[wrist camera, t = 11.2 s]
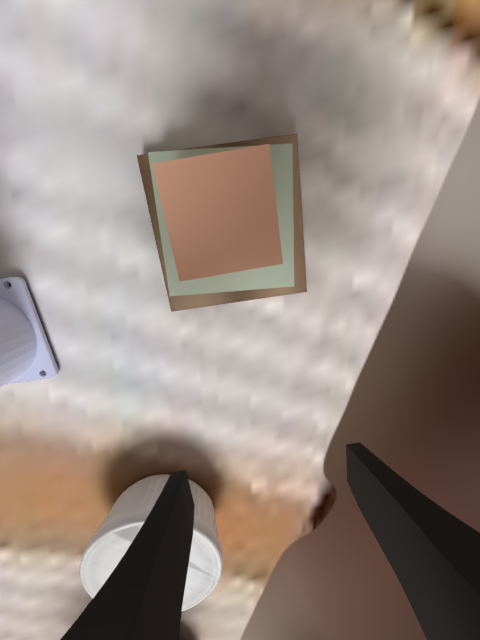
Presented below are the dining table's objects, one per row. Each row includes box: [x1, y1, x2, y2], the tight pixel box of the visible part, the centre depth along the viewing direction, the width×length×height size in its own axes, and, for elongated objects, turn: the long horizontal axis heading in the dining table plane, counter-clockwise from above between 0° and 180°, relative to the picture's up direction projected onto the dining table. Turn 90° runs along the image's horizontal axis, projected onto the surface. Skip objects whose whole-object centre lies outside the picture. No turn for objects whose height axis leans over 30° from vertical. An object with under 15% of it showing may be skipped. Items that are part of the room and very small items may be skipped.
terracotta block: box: [152, 144, 283, 282], centre depth 12 cm, size 4×4×5 cm
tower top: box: [148, 143, 294, 296], centre depth 16 cm, size 8×8×2 cm
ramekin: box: [80, 474, 223, 612], centre depth 22 cm, size 11×11×5 cm
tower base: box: [137, 134, 307, 312], centre depth 18 cm, size 10×10×2 cm
